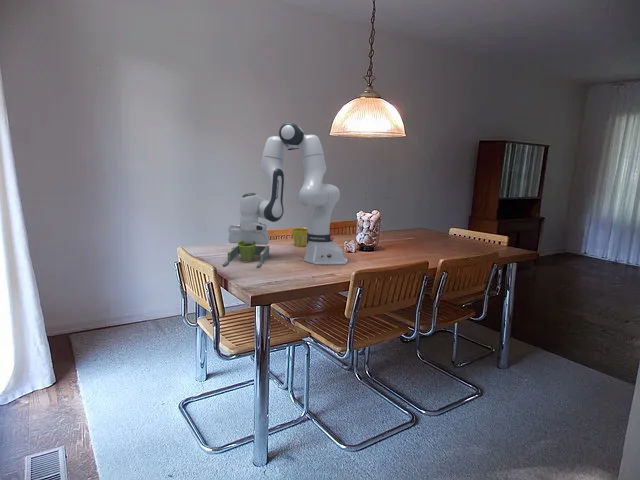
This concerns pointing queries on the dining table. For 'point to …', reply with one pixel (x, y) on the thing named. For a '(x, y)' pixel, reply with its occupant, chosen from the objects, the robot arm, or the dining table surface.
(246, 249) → the plant pot
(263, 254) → the green u-shaped frame
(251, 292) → the dining table surface
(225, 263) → the strips
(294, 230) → the plant pot
